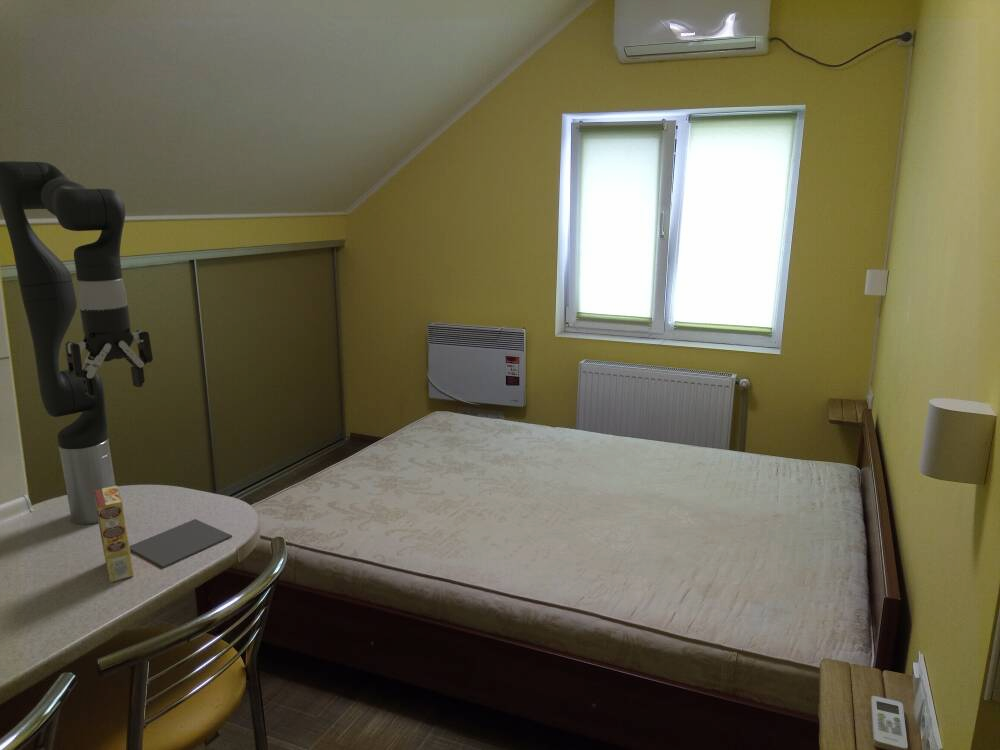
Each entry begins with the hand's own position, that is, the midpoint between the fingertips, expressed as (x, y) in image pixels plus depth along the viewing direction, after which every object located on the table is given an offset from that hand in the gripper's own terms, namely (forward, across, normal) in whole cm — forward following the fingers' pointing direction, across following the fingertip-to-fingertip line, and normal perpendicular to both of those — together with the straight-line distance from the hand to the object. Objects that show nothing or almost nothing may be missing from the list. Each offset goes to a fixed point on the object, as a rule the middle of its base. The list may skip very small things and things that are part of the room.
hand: (116, 391), depth 129 cm
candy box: (+34, +5, +2) cm, 34 cm away
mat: (+34, -7, +2) cm, 35 cm away
